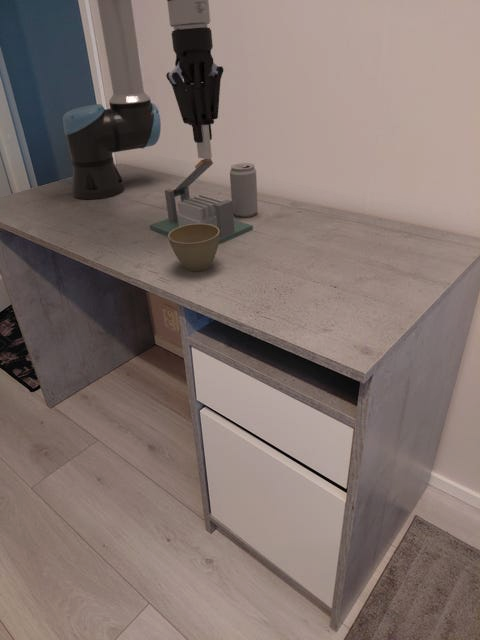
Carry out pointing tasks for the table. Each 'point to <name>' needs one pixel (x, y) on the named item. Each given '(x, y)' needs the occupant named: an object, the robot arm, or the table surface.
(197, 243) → the flower pot
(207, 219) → the board
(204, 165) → the grey long bar
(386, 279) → the table surface
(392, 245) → the table surface
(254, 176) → the beverage can
